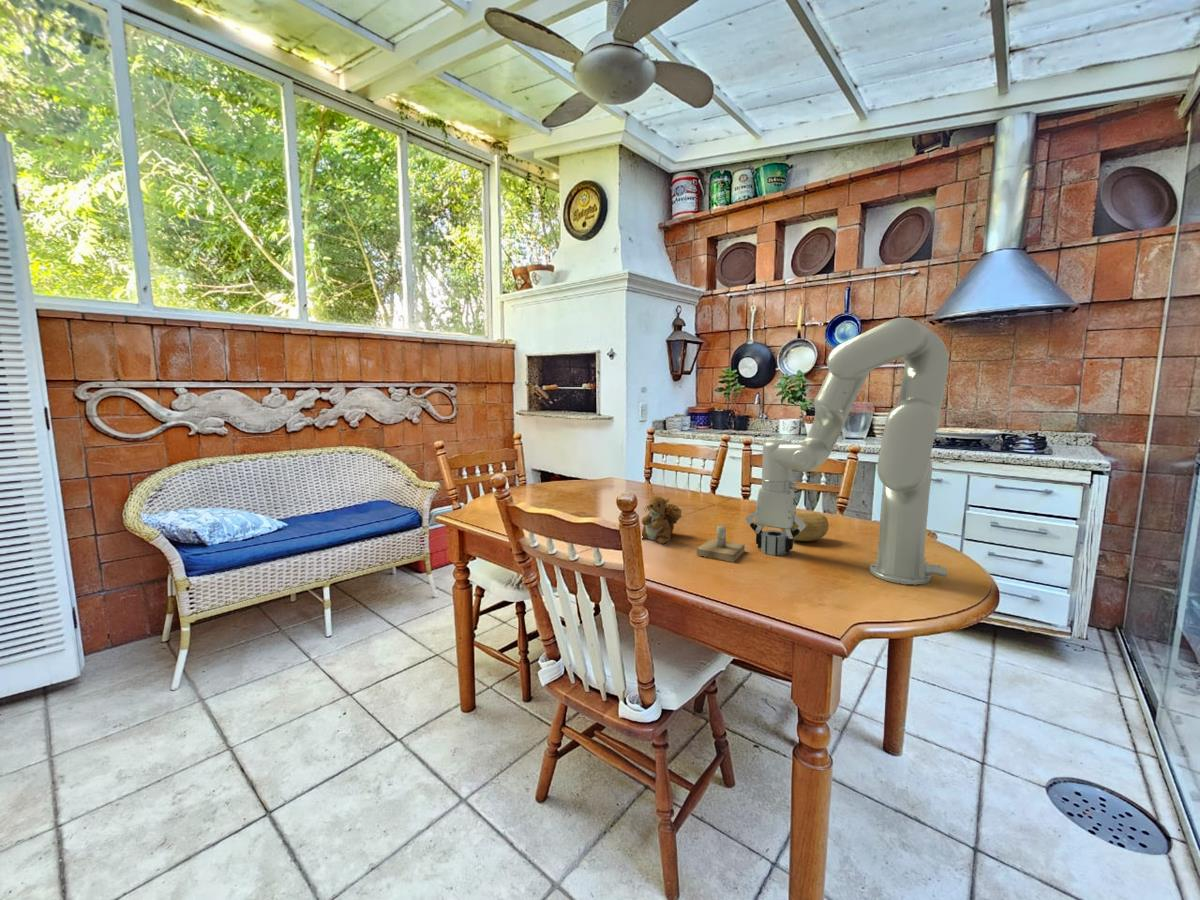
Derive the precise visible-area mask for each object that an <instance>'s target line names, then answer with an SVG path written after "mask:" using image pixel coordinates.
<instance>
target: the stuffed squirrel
mask: <svg viewBox="0 0 1200 900" xmlns="http://www.w3.org/2000/svg"><path fill="white" fill-rule="evenodd" d="M649 497H650V500H649V503H648V505H646V506H645V507H644V508H643V510H644V513H646V512H647V511H648V512H649V513H648V514H646V516H644V517H642V518H641V523H642V525H643V527H642V536H643V539H642V540H645V539H646V538H647V539H649V540H650V541H651V540H652V541H655V542H658V543H659V544H660V543H661V544H660V545H664V543H665V544H666V542H667V543H668V542H670V540H671V534H673V533H674V532H673V531H674V529H675V526H674V525H676V523H678V521H679V520H680V518H682V511H683V510H682V509H681V508H680V507H679V506H678V505H677V504H674V503H669V502H670V499H669V498H663V497H661V496H659V495H658V496H657V495H651V494H650V496H649Z"/></svg>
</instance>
